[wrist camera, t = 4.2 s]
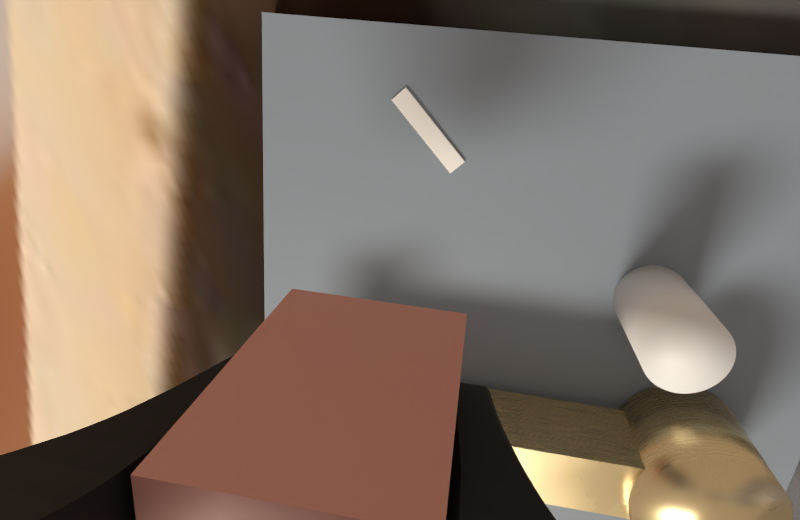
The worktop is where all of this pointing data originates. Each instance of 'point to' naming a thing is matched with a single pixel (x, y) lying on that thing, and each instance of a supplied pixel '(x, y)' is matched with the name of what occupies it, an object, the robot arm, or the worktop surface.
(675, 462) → the crank
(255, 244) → the worktop surface
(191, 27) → the worktop surface
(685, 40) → the worktop surface
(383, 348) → the block
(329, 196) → the board
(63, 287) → the worktop surface
